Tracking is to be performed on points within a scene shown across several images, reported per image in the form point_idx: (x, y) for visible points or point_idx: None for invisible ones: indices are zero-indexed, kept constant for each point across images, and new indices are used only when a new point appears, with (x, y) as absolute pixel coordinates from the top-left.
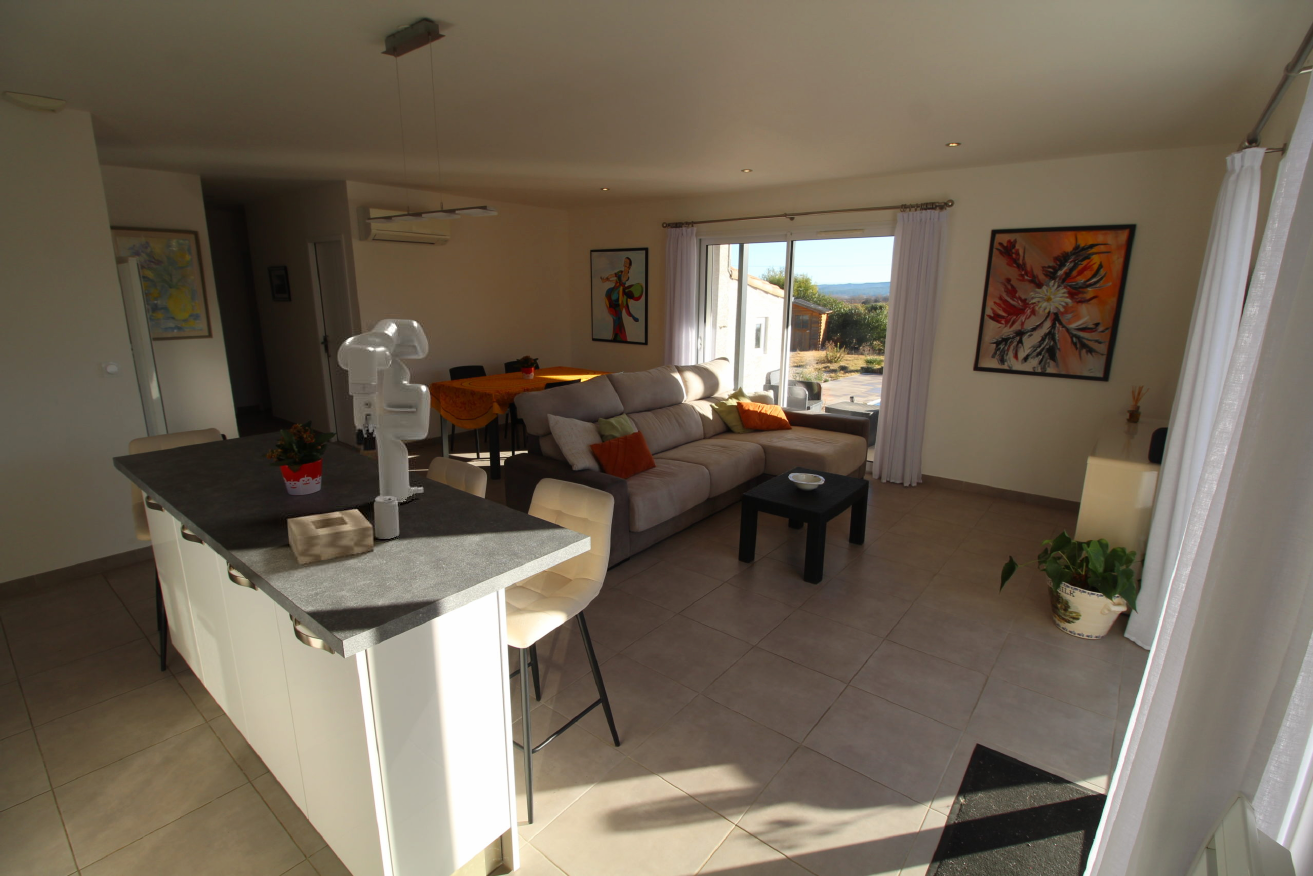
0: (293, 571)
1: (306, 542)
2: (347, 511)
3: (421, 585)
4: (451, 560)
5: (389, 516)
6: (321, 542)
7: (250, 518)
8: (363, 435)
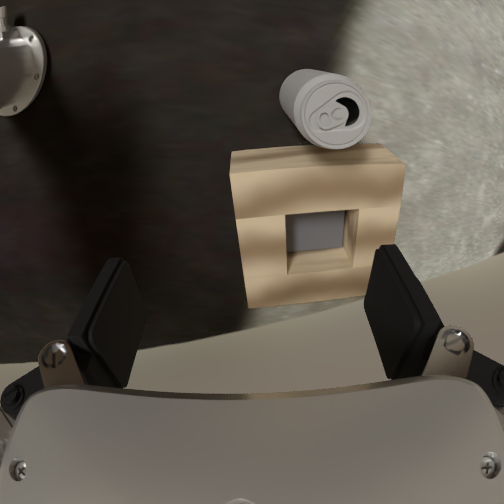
0: None
1: None
2: (243, 198)
3: None
4: (487, 49)
5: (356, 105)
6: None
7: None
8: (114, 339)
